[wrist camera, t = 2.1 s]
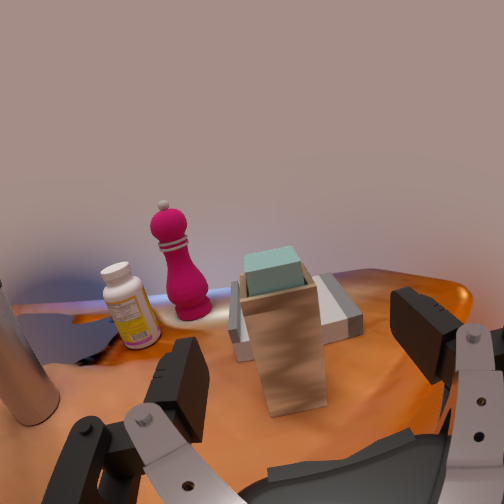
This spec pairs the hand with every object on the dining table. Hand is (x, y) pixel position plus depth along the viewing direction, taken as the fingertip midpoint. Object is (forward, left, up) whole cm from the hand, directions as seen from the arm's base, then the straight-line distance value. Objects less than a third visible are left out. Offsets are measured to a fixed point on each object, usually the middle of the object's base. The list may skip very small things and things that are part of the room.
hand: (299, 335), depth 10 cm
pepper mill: (-14, +34, -16) cm, 40 cm away
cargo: (0, +11, -3) cm, 12 cm away
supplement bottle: (-22, +27, -16) cm, 38 cm away
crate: (0, +11, -16) cm, 19 cm away
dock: (+2, +25, -15) cm, 30 cm away
